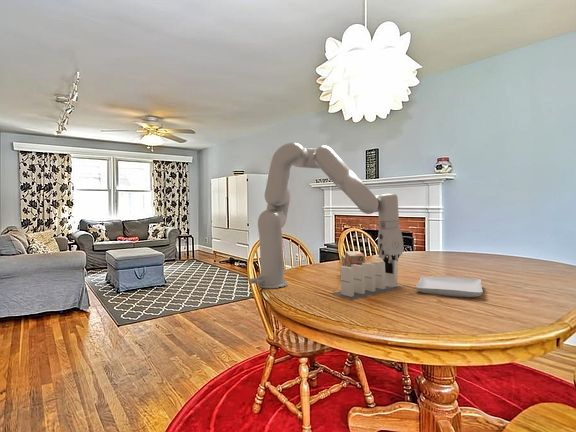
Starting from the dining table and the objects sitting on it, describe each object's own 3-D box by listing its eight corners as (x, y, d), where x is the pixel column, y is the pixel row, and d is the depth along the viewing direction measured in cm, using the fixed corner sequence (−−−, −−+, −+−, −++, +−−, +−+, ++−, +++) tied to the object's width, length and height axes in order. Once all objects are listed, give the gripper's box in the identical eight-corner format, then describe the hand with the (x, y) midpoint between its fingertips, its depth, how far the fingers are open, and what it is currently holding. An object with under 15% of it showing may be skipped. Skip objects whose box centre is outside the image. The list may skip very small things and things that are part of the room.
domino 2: (361, 294, 124) (361, 266, 124) (351, 291, 128) (351, 264, 128) (365, 293, 125) (364, 266, 125) (355, 290, 129) (354, 264, 129)
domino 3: (372, 291, 127) (371, 264, 127) (362, 289, 131) (361, 263, 131) (375, 291, 128) (375, 264, 128) (365, 288, 132) (365, 262, 132)
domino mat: (352, 300, 117) (352, 299, 117) (330, 294, 127) (330, 293, 127) (405, 288, 133) (405, 286, 133) (382, 283, 142) (382, 282, 142)
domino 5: (394, 286, 133) (394, 260, 133) (384, 284, 137) (384, 259, 137) (397, 286, 133) (397, 260, 134) (387, 284, 138) (387, 259, 138)
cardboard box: (342, 274, 162) (341, 248, 162) (355, 274, 162) (355, 248, 162) (350, 285, 141) (349, 255, 140) (365, 284, 141) (364, 254, 140)
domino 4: (382, 289, 130) (382, 263, 130) (372, 287, 134) (372, 261, 134) (385, 288, 131) (385, 262, 131) (375, 286, 135) (374, 260, 135)
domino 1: (350, 296, 121) (349, 268, 121) (340, 294, 125) (340, 266, 125) (353, 296, 122) (353, 267, 122) (344, 293, 126) (343, 266, 126)
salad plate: (415, 295, 123) (414, 286, 123) (422, 283, 142) (422, 274, 142) (483, 302, 113) (483, 291, 113) (481, 287, 132) (481, 278, 132)
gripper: (382, 227, 127) (385, 277, 128) (410, 223, 136) (412, 270, 136) (367, 227, 133) (370, 274, 134) (394, 223, 142) (397, 268, 143)
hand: (391, 272), depth 135 cm, fingers closed on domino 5, 2 cm apart
